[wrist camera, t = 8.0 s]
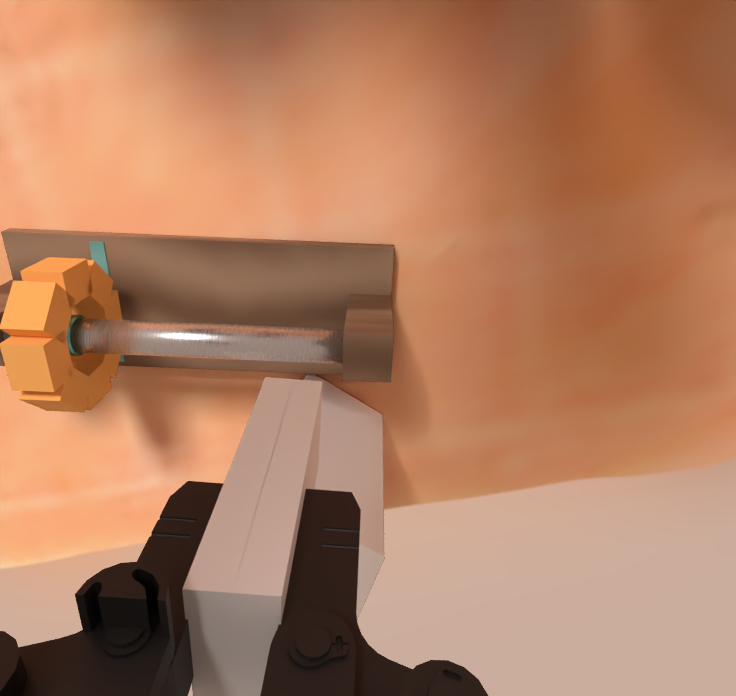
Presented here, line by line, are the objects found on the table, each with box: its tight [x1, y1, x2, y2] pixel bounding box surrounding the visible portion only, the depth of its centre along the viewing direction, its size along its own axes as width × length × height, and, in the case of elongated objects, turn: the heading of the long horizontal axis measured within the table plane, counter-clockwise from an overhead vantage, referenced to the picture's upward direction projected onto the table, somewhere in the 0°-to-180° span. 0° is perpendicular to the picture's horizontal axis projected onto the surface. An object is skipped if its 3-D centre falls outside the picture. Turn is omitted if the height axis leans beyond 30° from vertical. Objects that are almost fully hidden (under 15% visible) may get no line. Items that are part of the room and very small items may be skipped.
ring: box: [0, 257, 122, 412], centre depth 34 cm, size 9×2×9 cm, turn 178°
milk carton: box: [303, 374, 384, 619], centre depth 36 cm, size 7×7×19 cm
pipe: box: [1, 315, 344, 364], centre depth 34 cm, size 3×24×3 cm, turn 88°
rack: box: [0, 229, 394, 382], centre depth 36 cm, size 10×27×8 cm, turn 88°
